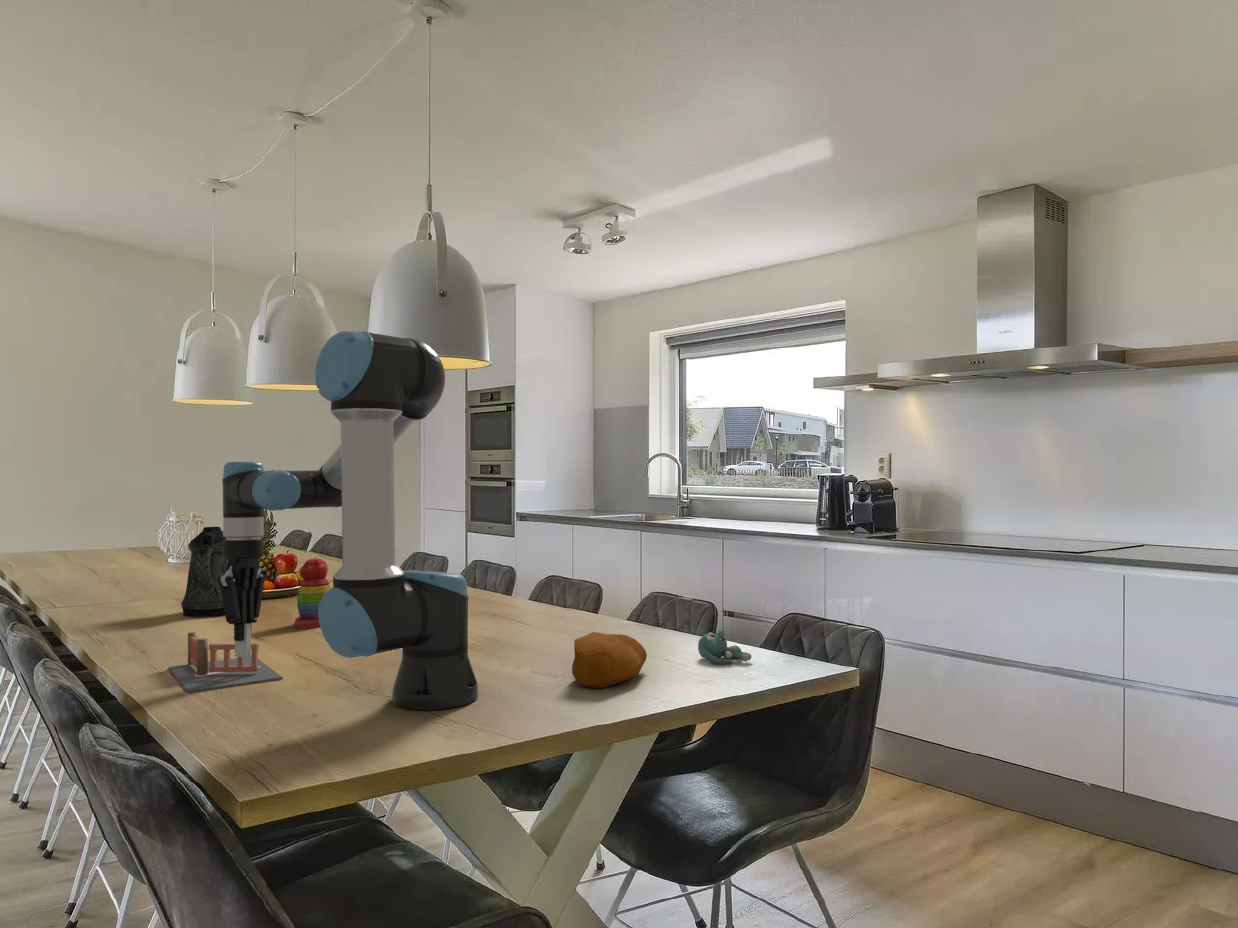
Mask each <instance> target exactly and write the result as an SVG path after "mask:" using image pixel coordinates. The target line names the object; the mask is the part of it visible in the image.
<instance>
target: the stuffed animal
mask: <svg viewBox="0 0 1238 928" xmlns="http://www.w3.org/2000/svg"><path fill="white" fill-rule="evenodd" d="M725 633H726V631H725V630H724V629H720V630H718V631H717V632H716V633H713V632H708V633H705V634H704V635H703V636H701V637H700V638H699V640H698V643H697V649H698V653H699V655H700V657H701V658H703V659H705V660H707V661H708V662H709V663H710V664H712V665H717V666H718V665H719V666H725V665H730V664H733V661H737V660H740V661H742V662H745V663H747V662H748V661H750V660H751V659H752V653H749V652H747V651H745V652H744V651H742V649H741V648H740V646H738V645H735V644H733V645H731V646H728V642H727V639H726V638H727V636H725ZM722 657H723V658H724V659H723V658H722Z"/></svg>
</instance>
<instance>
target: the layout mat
mask: <svg viewBox="0 0 1238 928" xmlns="http://www.w3.org/2000/svg"><path fill="white" fill-rule="evenodd" d="M217 666H224V659H220V660H218V659H217ZM230 666H238V662H237V657H235V658H230ZM244 666H252V655H251V656H249V657H244ZM258 666H259V671H257V672H209V667H210V661H208V674H207V675H203V676H198V675H197V669H196V668H195V667H194V666H193V665H188V663H187V664H179V665H174V666H173V665H172V666H168V670H169V671H170V672H171V674H172V675H173V676H174V677H175V679H176V680H177V681H178V683H179V684H180V685H181V686H182V687H183V688H184V690H185V692H187V693H189V694H190V693H191V694H192V693H196V692H203V691H210V690H218V689H225V688H231V687H232V688H233V687H239V686H244V685H252V684H260V683H266V682H273V681H274V682H275V681H280V680H283V679H284V678H283V676H282V675H280V674H279V673H278V672H276V671H275V670H274V669H272V668H271V667H270V666H268V665H267V664H266V663H264V662H263V661H261V660H260V659H259V658H258Z"/></svg>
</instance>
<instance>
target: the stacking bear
mask: <svg viewBox="0 0 1238 928" xmlns="http://www.w3.org/2000/svg"><path fill="white" fill-rule="evenodd" d="M297 572H298V575H299V576H300V577H301V578H302V579H303V580H302V581H301V582H300V586H298V587H299V588H298V594H297V596H296V606H297V609H298V610H297V611H298V615H299V616H298V617H296V618H295V620H294V623H293V629H297V630H303V629H315V628H320V623H319V617H318V608H319V602H320V601H321V600H322V599H321V597H322V595H323V594H324V593H325V592H326V591H328V590H329V589H332V588H333V585H332V584H331V583H330V581H329V580H328V579H327V578H326V577H327V575H328V572H329V568H328V564H327V562H326V561H325V560H323V559H321V558H317V557H313V558H309V559H308V560H306V561H305V562H304V564H303V565H302V566H301V567H300V568H299V569H298V571H297Z"/></svg>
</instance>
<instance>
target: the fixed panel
mask: <svg viewBox="0 0 1238 928" xmlns="http://www.w3.org/2000/svg"><path fill="white" fill-rule="evenodd" d="M208 662H209V639H208V638H199V637H198V636H197V632H196V631H194V632H193V631H192V632H191V631H190V632H188V633H187V664H188V665H193V666H194V667H195V668H196V669H197V675H198V676H203V675H207V674H208Z"/></svg>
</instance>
